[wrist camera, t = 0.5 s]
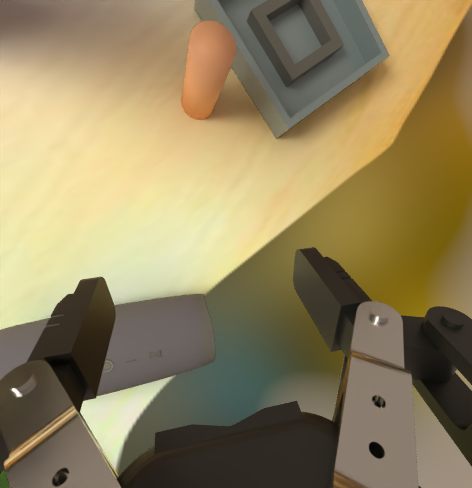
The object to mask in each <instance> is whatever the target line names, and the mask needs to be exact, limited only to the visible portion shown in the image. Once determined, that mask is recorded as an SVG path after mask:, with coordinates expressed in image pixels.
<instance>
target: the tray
mask: <svg viewBox="0 0 472 488" xmlns="http://www.w3.org/2000/svg"><path fill="white" fill-rule="evenodd" d="M194 9H195V11H196V12H197V14H198V15H199V17H200V19H201V20H202V22H203V21H215V22H218V23H220V24H222V25H223V26H225V27H226V28H227V29H228V30H229V31H230V33H231V34H232V36H233V38H234V41H235V45H236V54H235V57H234V60H233V62H232V65H231V68H232V69H233V71H234V72H235V74H236V75H237V77H238V79H239V80H240V82H241V83H242V85H243V86H244V88H245V90H246V91H247V93H248V94H249V96H250V97H251V99H252V101H253V102H254V104H255V105H256V107H257V108H258V110H259V112H260V113H261V115H262V116H263V118H264V120H265V121H266V123H267V124H268V126H269V127H270V129H271V131H272V132H273V134H274V135H275V137H276V138H278V137H279V136H281V135H282V134H284V133H285V132H286V131H288V130H289V129H290V128H292V127H293V126H295V125H296V124H297V123H299V122H300V121H301V120H303V119H304V118H306V117H307V116H308V115H310V114H311V113H313V112H314V111H315V110H317V109H318V108H319V107H321V106H322V105H324V104H325V103H326V102H328V101H329V100H330V99H332V98H333V97H335V96H336V95H337V94H339V93H340V92H341V91H343V90H344V89H346V88H347V87H348V86H350V85H351V84H352V83H354V82H355V81H357V80H358V79H359V78H361V77H362V76H363V75H365V74H366V73H368V72H369V71H370V70H372V69H373V68H374V67H375V66H377V65H378V64H379V63H381V62H382V61H383V60H385V59H386V58H387V57H388V56H390V55H389V53H388V51H387V50H386V48H385V46H384V44H383V42H382V40H381V38H380V36H379V34H378V32H377V30H376V28H375V26H374V24H373V22H372V20H371V18H370V16H369V14H368V12H367V10H366V8H365V6H364V4H363V2H362V0H195V7H194Z"/></svg>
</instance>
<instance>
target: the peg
mask: <svg viewBox="0 0 472 488" xmlns="http://www.w3.org/2000/svg"><path fill="white" fill-rule="evenodd" d="M235 54H236V45H235V41H234V38H233V36H232V34H231V33H230V31H229V30H228V29H227V28H226V27H225V26H223V25H222V24H220V23H218V22H215V21H203V22H200V23H198V24H197V25H196V26H195V27H194V28H193V30H192V32H191V34H190V39H189V47H188V55H187V62H186V70H185V77H184V85H183V92H182V107H183V109H184V111H185V112H186V113H187V114H188V115H189V116H190V117H192V118H194V119H199V120H200V119H205V118H207V117H208V116H210V115H211V113H212V111H213V109H214V106H215V104H216V102H217V99H218V97H219V94H220V92H221V89H222V87H223V84H224V82H225V80H226V77H227V75H228V72H229V70H230V67H231V65H232V62H233V60H234V57H235Z"/></svg>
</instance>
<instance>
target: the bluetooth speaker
mask: <svg viewBox="0 0 472 488" xmlns="http://www.w3.org/2000/svg"><path fill="white" fill-rule="evenodd" d="M115 312H116V318H115V323H114V327H113V331H112V335H111V339H110V343H109V347H108V351H107V355H106V359H105V364H104V368H103V372H102V376H101V380H100V384H99V388H98V392H97V396H100V395H104V394H108V393H112V392H116V391H119V390H123V389H127V388H131V387H135V386H138V385H142V384H146V383H149V382H153V381H156V380H160V379H163V378H167V377H170V376H173V375H177V374H180V373H183V372H187V371H190V370H193V369H196V368H199V367H202V366H204V365H207V364H209V363H212V362H214V359H215V356H216V349H215V340H214V333H213V327H212V321H211V318H210V315H209V313H208V310H207V306H206V302H205V297H204V294H192V295H181V296H174V297H166V298H159V299H152V300H145V301H139V302H132V303H126V304H120V305H115ZM49 319H50V318H48V319H44V320H39V321H35V322H30V323H25V324H21V325H16V326H13V327H9V328H5V329H2V330H0V380H1V379H2V378H3V377H4V376H5V375H6V374H7V373H9V372H10V371H11V370H13V369H14V368H16V367H18V366H20V365H22V364H24V363H26V362H27V360H28V358H29V356H30V355H31V353H32V351H33V349H34V347H35V345H36V343H37V341H38V339H39V337H40V336H41V334H42V332H43V330H44V328H45V327H46V324H47V322H48V320H49Z"/></svg>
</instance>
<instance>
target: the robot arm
mask: <svg viewBox="0 0 472 488" xmlns="http://www.w3.org/2000/svg"><path fill="white" fill-rule="evenodd" d="M293 282H294V287H295V290H296V292H297V294H298V296H299V297H300V299H301V301H302V302H303V304H304V306H305V308H306V309H307V311H308V313H309V315H310V316H311V318H312V320H313V322H314V323H315V325H316V327H317V328H318V330H319V332H320V334H321V335H322V337H323V339H324V341H325V342H326V344H327V346H328V347H329V349H330V351H331V352H332V351H337V350H342V351H343V353H344V355H345V356H344V360H343V366H342V372H341V377H340V383H339V388H338V394H337V400H336V405H335V410H334V414H333V419H332V421H331V420H329V419H327V418H324V417H322V416H319V415H316V414H312V413H307V412H301V411H300V408H299V405H298V403H297V401H294V402H290V403H285V404H281V405H277V406H272V407H268V408H264V409H262V410H260V411H258V412H256V413H255V414H253V415H251V416H249V417H247V418H246V419H244V420H242V421H240V422H238V423H236V424H235V425H232V426H228V427H227V426H209V425H188V426H183V427H179V428H175V429H170V430H166V431H162V432H157V433H155V446H153V447H151V448H149V449H148V450H146V451H145V452H143V453H142V454H141V455H139V456H138V457H137V458H136V459H135V460H134V461H132V462H131V463H130V464H129V465H128V466H127V468H125V469H124V470H123V472H122V473H121V474H120V475H119V476H118V474H117V473H116V471H115V470H114V468H113V466H112V465H111V463H110V461H109V460H108V458H107V457H106V455H105V453H104V452H103V450H102V448H101V447H100V445H99V443H98V442H97V440H96V438H95V436H94V435H93V433H92V431H91V430H90V428H89V426H88V425H87V423H86V421H85V420H84V418H83V416H82V415H81V413H80V410H81V406H82V403H83V401H84V400H89V399H94V398H96V396H97V392H98V388H99V384H100V380H101V376H102V372H103V368H104V364H105V359H106V355H107V351H108V347H109V343H110V339H111V335H112V331H113V327H114V323H115V318H116V312H115V306H114V303H113V300H112V298H111V295H110V292H109V289H108V287H107V284H106V281H105V279H104V278H103V277H96V278H89V279H82V280H80V282H79V284H78V286H77V288H76V290H75V292H74V294H68V295H67V296H66V297H64V298H63V299H62V300H61V301H60V302H59V303H58V304H57V305H56V307H55V309H54V311H53V313H52V315H51V318H50V319H49V320H48V322H47V324H46V327H45V328H44V330H43V332H42V334H41V336H40V337H39V339H38V341H37V343H36V345H35V347H34V349H33V351H32V353H31V355H30V356H29V358H28V360H27V362H26V363H24V364H22V365H20V366H18V367H16V368H14V369H13V370H11V371H10V372H9V373H7V374H6V375H5V376H4V377H3V378H2V379H1V380H0V473H1V471H2V470H4V469H5V472H6V475H7V479H8V482H9V485H10V488H421V487H420V486H418V474H417V456H416V439H415V422H414V405H413V388H412V384H413V385H414V387H415V388H416V390H417V391H418V392H419V394H420V395H421V397H422V398H423V399H424V401H425V402H426V404H427V405H428V406H429V408H430V409H431V410H432V412H433V413H434V415H435V416H436V417H437V419H438V420H439V422H440V423H441V424H442V426H443V427H444V429H445V430H446V431H447V433H448V434H449V435H450V437H451V438H452V440H453V441H454V443H455V444H456V445H457V447H458V448H459V449H460V451H461V452H462V454H463V455H464V456H465V458H466V459H467V460H468V462H469V463H470V465H471V466H472V391H471V390H470V389H469V388H468V386H467V385H466V384H465V383H464V382H463V381H462V380H461V379H460V377H459V376H458V375H457V374H456V373H455V371H456V370H457V369H458V370H459V371H460V373H461V374H462V375H463V376H464V377H465V378H466V379H467V380H468V381H469V382H470V383H471V385H472V319H471V318H469V317H468V316H467V315H465V314H463V313H461V312H459V311H457V310H454V309H451V308H448V307H433V308H430V309H429V310H428V311H427V313H426V316H425V318H424V317H412V316H411V317H410V316H401V315H400V314H399V313H398V312H397V311H395V309H393V308H392V307H390V306H388V305H386V304H383V303H380V302H375V301H372V300H371V299H370V298H369V297H368V296H367V295H366V293H365V292H364V291H363V290H362V289H361V288H360V287H359V286H358V285H357V283H356V282H355V281H354V280H353V279H351V277H350V276H349V275H348V273H347V272H345V270H344V269H343V268H342V267H341V266H340V265H339V263H337V262H336V261H334V260H332V259H330V258H329V257H323V256H322V255H321V254H320V253H319V252H318V250H317V249H316V248H314V247H312V248H305V249H298V250H297V251H296V253H295V264H294V275H293Z"/></svg>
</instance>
